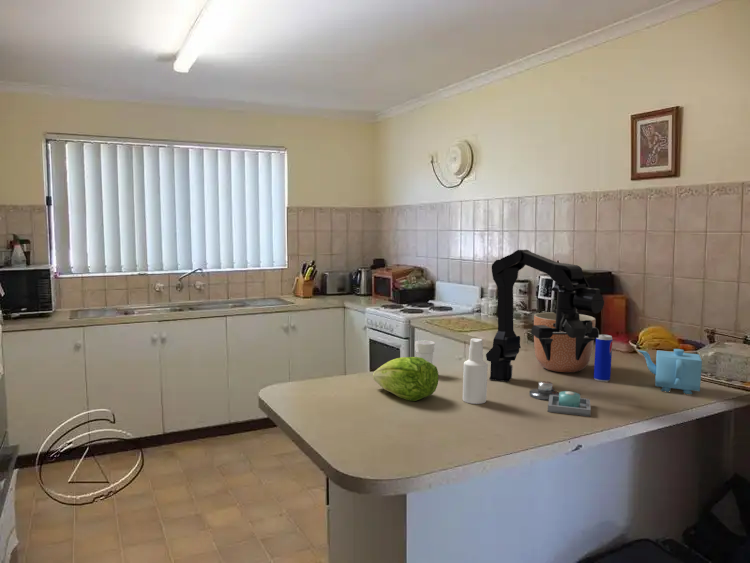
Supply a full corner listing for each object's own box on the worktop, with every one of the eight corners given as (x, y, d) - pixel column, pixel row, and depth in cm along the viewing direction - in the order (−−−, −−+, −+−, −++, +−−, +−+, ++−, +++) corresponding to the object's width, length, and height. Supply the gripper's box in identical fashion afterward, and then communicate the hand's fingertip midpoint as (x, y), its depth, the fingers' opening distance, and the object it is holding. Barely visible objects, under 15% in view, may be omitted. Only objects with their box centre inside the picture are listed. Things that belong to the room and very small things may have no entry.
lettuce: (393, 364, 188) (367, 346, 180) (450, 368, 173) (425, 349, 165) (381, 403, 183) (354, 386, 175) (439, 410, 168) (412, 392, 160)
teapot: (696, 386, 190) (699, 347, 189) (700, 398, 176) (703, 356, 175) (635, 379, 198) (637, 341, 196) (634, 390, 184) (637, 350, 182)
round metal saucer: (528, 398, 173) (528, 385, 173) (530, 390, 182) (531, 377, 181) (560, 401, 170) (560, 388, 170) (560, 393, 179) (561, 380, 178)
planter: (568, 360, 223) (570, 311, 222) (605, 374, 204) (608, 320, 202) (520, 364, 217) (522, 313, 215) (554, 378, 197) (557, 322, 195)
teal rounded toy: (554, 403, 166) (555, 390, 166) (573, 402, 167) (573, 389, 167) (566, 410, 160) (567, 396, 159) (585, 410, 161) (586, 396, 161)
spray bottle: (487, 398, 172) (490, 338, 170) (484, 405, 165) (486, 342, 164) (464, 396, 174) (466, 336, 172) (460, 402, 168) (462, 340, 166)
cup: (411, 375, 197) (412, 343, 196) (417, 371, 203) (418, 339, 202) (430, 377, 195) (431, 345, 194) (436, 373, 201) (437, 341, 200)
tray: (547, 411, 161) (547, 405, 161) (549, 400, 171) (549, 394, 171) (590, 416, 157) (590, 410, 157) (589, 405, 168) (589, 398, 167)
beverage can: (611, 382, 193) (614, 337, 191) (594, 381, 194) (597, 336, 192) (608, 378, 198) (611, 334, 196) (592, 377, 199) (594, 333, 197)
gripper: (549, 312, 162) (545, 367, 164) (611, 312, 165) (607, 366, 167) (532, 306, 173) (528, 357, 175) (590, 306, 176) (586, 357, 178)
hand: (563, 360), depth 173 cm, fingers open, 9 cm apart
